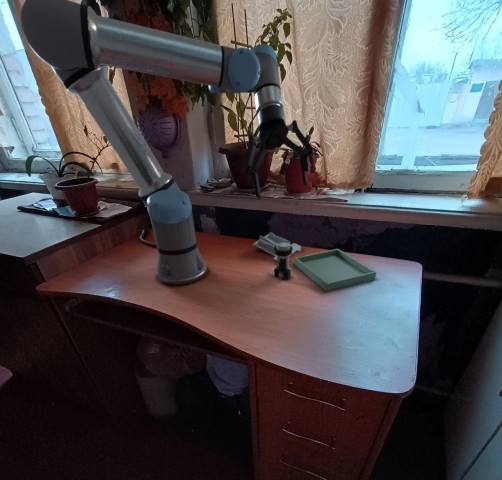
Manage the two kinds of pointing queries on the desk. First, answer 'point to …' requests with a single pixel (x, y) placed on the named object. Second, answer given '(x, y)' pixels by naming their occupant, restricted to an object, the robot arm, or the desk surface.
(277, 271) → the push button
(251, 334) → the desk surface
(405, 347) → the desk surface
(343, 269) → the tray
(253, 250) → the desk surface
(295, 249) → the metal bracket
